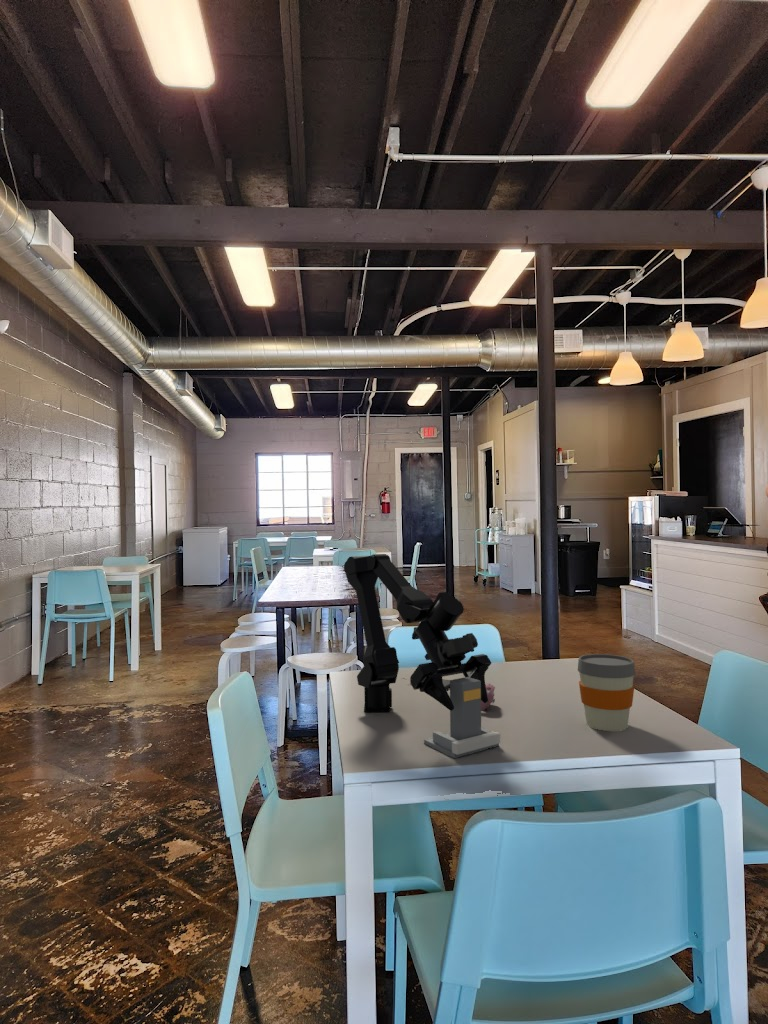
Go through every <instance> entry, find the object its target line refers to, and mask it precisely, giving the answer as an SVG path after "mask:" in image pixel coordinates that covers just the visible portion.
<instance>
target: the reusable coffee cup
mask: <svg viewBox="0 0 768 1024" xmlns="http://www.w3.org/2000/svg"><path fill="white" fill-rule="evenodd" d="M634 661H635V660H633V659H632V658H629V657H626V656H622V655H617V654H616V655H615V654H606V653H605V654H604V653H593V654H583V655H580V656H578V663H577V672H579V679H580V680H579V681H578V685H579V693H580V699H581V703H582V704H583V707H584V709H583V710H584V715H585V722H586V725H587V727H589V728H592V729H594V730H597V729H598V730H599V731H602V730H603V731H604V732H621V731H620V730H623V731H625V730H627V729H628V726H629V718H630V712H631V711H630V709H631V708H632V707H633V700H634V693H635V685H634V676H635V675H636V668H635V662H634ZM626 728H627V729H626ZM624 729H625V730H624Z"/></svg>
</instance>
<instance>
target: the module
mask: <svg viewBox="0 0 768 1024" xmlns="http://www.w3.org/2000/svg"><path fill="white" fill-rule="evenodd" d="M449 680H450V688H449V697H450V699H451V701H452V703H453V706H454V709H453V710H452V711H450V710H449V715H450V716H449V717H450V719H449V721H450V722H449V725H450V726H449V727H450V728H449V730H450V737H452V738H454V739H456V740H463V739H467V738H471V737H475V736H479V735H481V727H482V711H481V681H480V680H477V679H473V678H470V677H465V676H464V677H460V678H454V679H449Z"/></svg>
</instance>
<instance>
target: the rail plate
mask: <svg viewBox="0 0 768 1024" xmlns="http://www.w3.org/2000/svg"><path fill="white" fill-rule="evenodd" d="M423 744H424V745H426V746H428V747H430V748H433V749H435V750H437V751H439V752H441V753H443V754H445V755H447V756H449V757H451V758H453V759H456V758H459V757H463V755H464V756H467V754H468V755H471V754H474V752H475V753H478V752H477V751H479V752H482V751H485V749H486V750H489V749H488V748H490V749H492V747H493V748H497V747H499V746H500V744H501V733H500V732H497V731H491V730H489V729H486V728H484V727H482V726H481V735H479V736H475V737H471V738H467V739H463V740H456V739H454V738H452V737H450V733H447V734H444V733H443V732H441V731H439V730H436V731H432V737H429V738H426V739H424V740H423ZM496 746H497V747H496ZM481 750H482V751H481ZM470 753H471V754H470Z"/></svg>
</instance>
